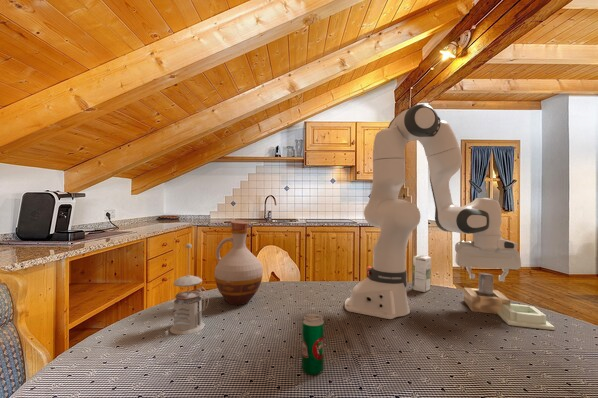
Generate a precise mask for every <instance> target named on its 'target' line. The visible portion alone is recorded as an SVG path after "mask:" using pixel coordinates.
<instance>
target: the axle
mask: <svg viewBox="0 0 598 398" xmlns="http://www.w3.org/2000/svg"><path fill="white" fill-rule="evenodd" d="M478 289H479V290H478V296H489V297H493V290H494V274H492V273H487V272H486V273H485V272H478Z"/></svg>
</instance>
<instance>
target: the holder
mask: <svg viewBox="0 0 598 398" xmlns="http://www.w3.org/2000/svg"><path fill="white" fill-rule="evenodd" d="M509 306H510V307H509ZM509 306H508V305H506V304H502V311H498V314H497V315H498V316H499V317H500V318H501V319H502V320H503V321H504V322H505V323H506V324H507V325H508V326H517V327H524V328H532V329H533V328H534V329H539V330H540V329H541V330H549V331H550V330H551V331H555V326H554V325H553V324H551V323H550V322H549V321H548V320H547V315H546V314H545V313H544V312H543V311H540V310H539V309H538V308H536V307H535V306H533V305H528V304H527V305H526V304H517V303H516V304H515V303H510V305H509Z"/></svg>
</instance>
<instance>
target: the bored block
mask: <svg viewBox="0 0 598 398" xmlns="http://www.w3.org/2000/svg"><path fill="white" fill-rule="evenodd" d="M478 290H479V288H472V287H463V301H464V303H465V304H466V305H467V307H469V309H470V310H471V312H476V313H485V314H486V313H487V314H495V315H498V311H502V304H506V305H508V306H509V305H510V304H511V300H510V298H508V297H507V296H506V295H504V293H502V292H501V291H499V290H497V289H493V297H489V296H478ZM509 307H510V306H509Z"/></svg>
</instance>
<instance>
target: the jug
mask: <svg viewBox="0 0 598 398" xmlns="http://www.w3.org/2000/svg"><path fill="white" fill-rule="evenodd" d="M230 227H231V229H230V234H231V236H232V237H229V236H228V237H225V238H223V239H222V240H221V241H220V242H219V243H218V245H217V246H216V250H215V257H216V260H217V264H216V266H214V267H215V269H214V280H215V285H216V287H217V290H218V291H219V294H221V296H222V298H223V299H225V301H226V302H227V303H228V304H231V305H233V306H234V305H235V306H236V305H238V306H239V305H245V304H247V303H249V302H250V301H251V300H252V298H253V297H254V295H256V293H257V292H258V290H259V288H260V287H261V282H262V280H263V276H264V275H263V274H264V269H263V264H262V263H261V261H260V259H259V258H258V257H256V256H255V255H254V254H253V253H252V252H251V251H250V249H249V248H248V247H247V244H246V241H247V240H246V239H247V235H248V233H249V229H248V227H249V222H248V221H243V220H232V221H230ZM226 242H227V243H228V242H231V243H232V247H231V248H230V250H229V251H228V252H227V253H226V254H225V255H224V256H223V257H222V258H221V255H220V253H221V252H220V251H221V248H222V246H223V245H224V244H225V243H226Z"/></svg>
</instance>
